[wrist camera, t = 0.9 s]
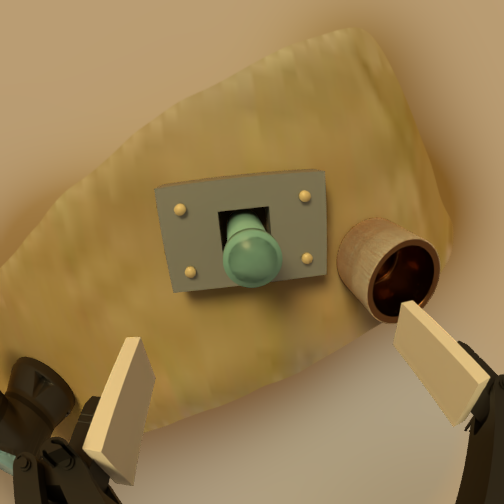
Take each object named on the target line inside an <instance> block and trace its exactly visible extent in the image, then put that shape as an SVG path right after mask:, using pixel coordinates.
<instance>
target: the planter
mask: <svg viewBox="0 0 504 504" xmlns="http://www.w3.org/2000/svg"><path fill="white" fill-rule="evenodd" d="M337 269H338V273H339V275H340V278H341V279H342V281H343V283H344V284H345V285H346V286H347V287H348V289H349V290H350V291H351V292H352V293H353V294H354V295H355V296H356V297H357V299H358V300H359V301H360V302H361V303H362V304H363V305H364V307H365V308H366V309H367V310H368V311H369V312H370V314H371V315H372V316H373V317H374V318H375V319H376V320H378V321H380V322H382V323H386V324H396V323H398V318H399V313H400V308H401V303H403V302H408V301H412V300H413V301H414V302H415V303H416V304H417V305H418V306H419V307H420V308H422V309H423V308H424V306H425V305H426V304H427V303H428V302H429V300H430V299H431V297H432V295H433V294H434V292H435V289H436V287H437V283H438V281H439V276H440V260H439V256H438V253H437V251H436V249H435V248H434V246H433V245H432V244H431V243H430V242H428V241H427V240H425V239H423V238H421V237H419V236H417V235H415V234H413V233H412V232H410V231H408V230H406V229H404V228H402V227H401V226H399V225H397V224H395V223H393V222H391V221H389V220H386V219H382V218H370V219H366V220H364V221H361V222H360V223H358V224H357V225H355V226H354V227H353V228H352V229H351V230H350V231H349V232H348V233H347V234H346V235H345V237H344V238H343V240H342V242H341V244H340V247H339V250H338V254H337Z"/></svg>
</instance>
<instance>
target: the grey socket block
mask: <svg viewBox="0 0 504 504" xmlns="http://www.w3.org/2000/svg"><path fill="white" fill-rule="evenodd" d="M154 190H155V197H156V203H157V210H158V216H159V222H160V228H161V233H162V239H163V244H164V249H165V254H166V260H167V264H168V269H169V274H170V279H171V283H172V288H173V292H174V293H177V292H187V291H196V290H206V289H215V288H224V287H233V286H240V285H238V284H236V283H235V282H233V281H232V280H231V279H230V278H229V277H228V275H227V274H226V272H225V269H224V266H223V251H224V247H223V239H222V231H221V223H220V214H219V212H220V211H228V210H237V209H247V208H256V207H265V218H266V230H267V232H268V233H269V234H271V235H272V236H273V237H274V238H275V240H276V241H277V243H278V245H279V247H280V249H281V252H282V266H281V269H280V271H279V273H278V274H277V276H276V277H275V278H274V279H273V280H272V281H270V282H274V281H282V280H290V279H297V278H304V277H312V276H319V275H326V274H327V216H326V186H325V171H321V170H316V169H304V170H288V171H275V172H262V173H251V174H241V175H232V176H223V177H214V178H206V179H199V180H191V181H184V182H177V183H171V184H164V185H161V186H159V187H157V188H155V189H154Z"/></svg>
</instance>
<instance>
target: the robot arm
mask: <svg viewBox="0 0 504 504" xmlns="http://www.w3.org/2000/svg"><path fill="white" fill-rule="evenodd" d="M393 345H394V347H395V348H396V349H397V350H398V352H399V353H400V354H401V355H402V357H403V358H404V360H405V361H406V362H407V363H408V365H409V366H410V367H411V369H412V370H413V371H414V373H415V374H416V375H417V377H418V378H419V380H420V381H421V382H422V383H423V385H424V386H425V388H426V389H427V390H428V392H429V393H430V395H431V396H432V397H433V399H434V400H435V401H436V403H437V404H438V406H439V407H440V409H441V410H442V411H443V413H444V414H445V415H446V417H447V418H448V420H449V421H450V423H451V424H452V426H453V427H454V426H456V425H458V424H459V423H461V422H463V421H464V420H465V419H466V418H467V417H468V415H469V413H470V412H471V413H472V414H473V415H474V416H473V417H472V419H471V420H470V422H469V423H468V425H467V426H466V427H465V430H464V431H467V429H468V428H469V427H470V430H469V432H470V435H469V443H468V449H467V456H466V461H465V466H464V471H463V476H462V480H461V484H460V488H459V492H458V496H457V500H456V503H455V504H504V375H499V376H498V375H497V374H496V373H495V372H494V371H493V370H492V369H491V368H490V367H489V366H488V365H487V364H486V363H485V362H484V361H483V360H482V359H481V358H479V356H478V355H477V354H476V353H474V351H473V350H472V349H471V348H470V347H469V346H468V345H467V344H465V343H463V342H461V341H458V342H456V341H455V340H454V339H453V338H452V337H451V336H450V335H449V334H448V333H447V332H446V331H445V330H444V329H443V328H442V327H440V326H439V325H438V323H436V322H435V321H434V320H433V319H432V318H431V317H430V316H429V315H428V314H427V313H426V312H425V311H424V310H423V309H422V308H420V307H419V306H418V305H417V304H416V303H415V302H414V301H413V300H412V301H408V302H403V303H401V308H400V313H399V318H398V323H397V328H396V333H395V337H394V341H393ZM155 379H156V378H155V375H154V372H153V370H152V367H151V365H150V362H149V359H148V357H147V354H146V351H145V348H144V346H143V343H142V340H141V337H128V338H126V340H125V342H124V344H123V346H122V348H121V351H120V353H119V355H118V358H117V360H116V362H115V364H114V367H113V369H112V371H111V374H110V376H109V379H108V381H107V384H106V386H105V388H104V391H103V393H102V396H101V397H96V396H92V397H91V398H90V399H89V400H88V401H87V402H86V403H85V405H84V407H83V410H82V412H81V415H80V417H79V419H78V422H77V424H76V427H75V429H74V432H73V435H72V437H71V440H70V442H69V444H68V443H67V441H66V440H64V439H63V438H61V437H52V438H50V437H51V435H52V432H53V430H54V428H55V427H56V426H57V425H58V424H59V423H60V422H61V421H62V420H63V419H64V418H65V417H67V416H68V415H69V414H70V413H71V411H72V409H73V407H74V404H75V400H74V396H73V393H72V391H71V390H70V388H69V387H68V385H67V384H66V383H65V381H64V380H63V379H62V378H61V377H60V376H59V375H58V374H57V373H56V372H54V371H53V370H52V369H51V368H49V367H48V366H46V365H45V364H43V363H42V362H40V361H38V360H35V359H33V358H29V357H22V358H19V359H18V360H17V362H16V363H15V364H14V366H13V368H12V371H11V376H10V380H9V384H8V388H7V391H6V393H5V394H3V393H2V392H1V391H0V469H1V470H3V471H5V472H6V473H9V474H11V475H12V476H13V484H14V497H15V504H122V503H121V501H120V500H119V499H118V497H117V496H116V494H115V492H114V491H113V489H112V488H111V486H110V485H109V484H108V483H109V479H110V478H111V479H112V480H113V481H114V482H115V483H117V484H124V485H130V486H133V484H134V478H135V473H136V467H137V462H138V456H139V450H140V446H141V441H142V436H143V431H144V426H145V422H146V417H147V413H148V408H149V404H150V399H151V395H152V391H153V387H154V383H155ZM470 425H471V426H470Z"/></svg>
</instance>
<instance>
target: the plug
mask: <svg viewBox="0 0 504 504" xmlns="http://www.w3.org/2000/svg"><path fill="white" fill-rule="evenodd" d="M223 266H224V269H225V272H226V274H227V275H228V277H229V278H230V279H231V280H232V281H233V282H235V283H236V284H238V285H240V286H243V287H249V288H255V287H260V286H263V285H265V284H267V283H269V282H270V281H272V280H273V279H274V278H275V277H276V276H277V274H278V273H279V271H280V269H281V266H282V252H281V249H280V247H279V245H278V243H277V241H276V240H275V238H274V237H273V236H272V235H271V234H269V233H268V232H266V230H265V229H264V227H263V225H262V223H261V221H260V219H259V217H258V215H257V214H256V213H255V212H254V211H252V210H250V209H237V210H235V211H234V212H232V213H231V214H230V216H229V217H228V220H227V243H226V244H225V247H224V251H223Z"/></svg>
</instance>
